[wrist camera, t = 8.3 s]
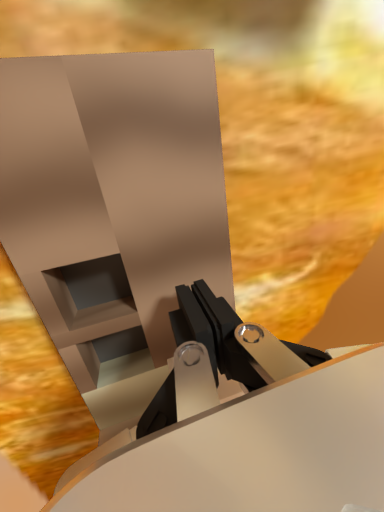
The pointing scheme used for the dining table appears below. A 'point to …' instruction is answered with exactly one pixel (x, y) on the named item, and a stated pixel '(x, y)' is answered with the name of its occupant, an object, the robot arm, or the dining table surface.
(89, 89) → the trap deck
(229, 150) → the dining table surface
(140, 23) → the dining table surface
